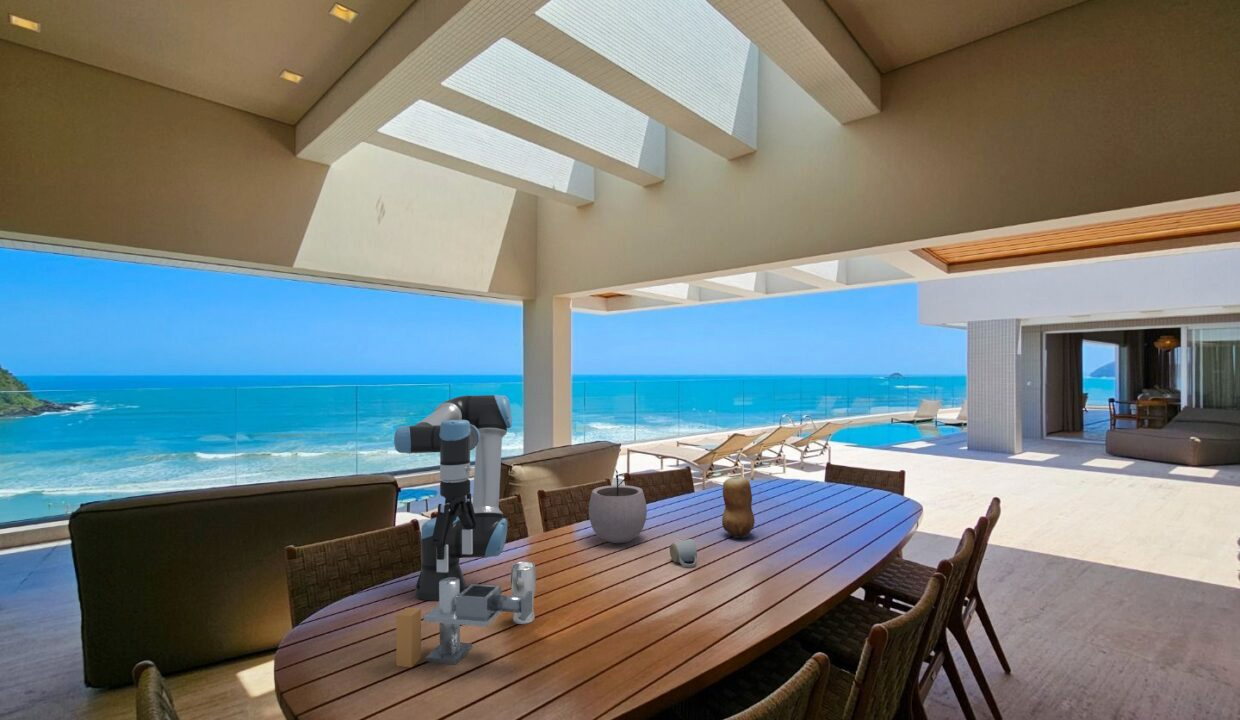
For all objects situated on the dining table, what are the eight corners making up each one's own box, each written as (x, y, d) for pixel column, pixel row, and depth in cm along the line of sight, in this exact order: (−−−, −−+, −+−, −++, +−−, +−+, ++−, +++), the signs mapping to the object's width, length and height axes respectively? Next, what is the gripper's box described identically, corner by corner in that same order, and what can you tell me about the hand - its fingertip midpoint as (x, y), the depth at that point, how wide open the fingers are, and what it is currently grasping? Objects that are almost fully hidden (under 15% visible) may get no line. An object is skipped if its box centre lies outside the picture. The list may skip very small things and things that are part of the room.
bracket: (456, 617, 127) (456, 596, 127) (472, 603, 135) (471, 583, 135) (522, 623, 124) (521, 601, 124) (534, 608, 131) (534, 588, 132)
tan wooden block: (396, 665, 127) (396, 614, 127) (406, 656, 130) (406, 607, 131) (411, 667, 126) (411, 616, 126) (421, 658, 130) (420, 608, 130)
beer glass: (524, 627, 145) (524, 571, 145) (505, 621, 149) (505, 567, 149) (541, 617, 151) (540, 564, 151) (522, 611, 154) (522, 559, 155)
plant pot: (648, 550, 207) (647, 473, 207) (587, 551, 207) (586, 473, 208) (646, 532, 231) (645, 462, 231) (591, 532, 231) (590, 463, 232)
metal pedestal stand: (423, 663, 127) (423, 587, 128) (445, 642, 137) (445, 572, 138) (487, 670, 124) (487, 592, 124) (505, 648, 134) (504, 576, 134)
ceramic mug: (668, 559, 196) (668, 538, 196) (688, 556, 199) (688, 536, 199) (681, 570, 186) (681, 548, 186) (701, 566, 189) (701, 545, 189)
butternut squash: (718, 532, 228) (717, 474, 228) (748, 531, 229) (747, 473, 230) (728, 543, 214) (727, 480, 215) (760, 541, 215) (759, 479, 216)
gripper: (445, 489, 125) (445, 581, 124) (488, 471, 150) (488, 547, 149) (415, 489, 126) (415, 579, 125) (463, 471, 151) (463, 546, 150)
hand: (455, 562), depth 137 cm, fingers open, 13 cm apart
